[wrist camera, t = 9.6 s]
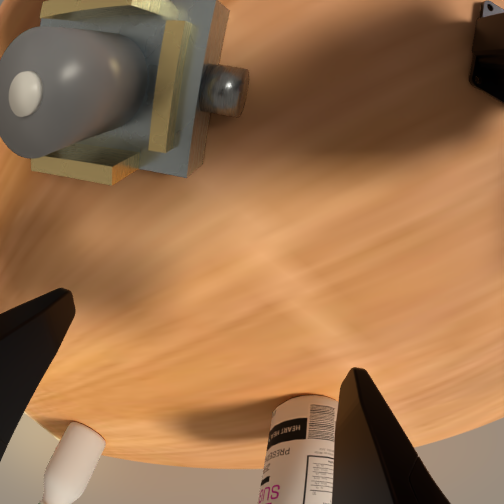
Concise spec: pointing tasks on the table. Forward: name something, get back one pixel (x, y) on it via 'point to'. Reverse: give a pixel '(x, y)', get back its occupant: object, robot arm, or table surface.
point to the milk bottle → (72, 464)
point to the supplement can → (300, 452)
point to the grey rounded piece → (67, 87)
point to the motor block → (154, 87)
